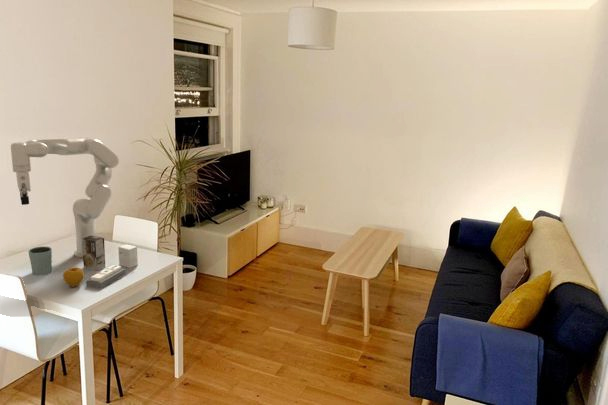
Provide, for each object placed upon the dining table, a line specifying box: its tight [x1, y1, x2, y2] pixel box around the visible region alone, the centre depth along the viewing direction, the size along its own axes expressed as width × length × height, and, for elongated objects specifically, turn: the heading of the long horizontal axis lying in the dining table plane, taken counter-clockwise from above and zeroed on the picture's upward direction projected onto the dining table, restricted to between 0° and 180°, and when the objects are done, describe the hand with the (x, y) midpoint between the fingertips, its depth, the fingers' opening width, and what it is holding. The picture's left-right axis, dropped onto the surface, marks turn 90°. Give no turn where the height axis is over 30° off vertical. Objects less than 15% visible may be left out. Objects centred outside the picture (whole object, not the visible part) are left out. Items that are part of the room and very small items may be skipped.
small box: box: [118, 244, 139, 269], centre depth 244 cm, size 8×6×10 cm
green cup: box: [27, 246, 53, 276], centre depth 229 cm, size 10×10×12 cm
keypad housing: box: [85, 267, 127, 290], centre depth 225 cm, size 19×8×3 cm, turn 166°
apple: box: [62, 267, 85, 288], centre depth 217 cm, size 9×9×9 cm
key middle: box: [98, 268, 114, 277], centre depth 225 cm, size 5×5×3 cm
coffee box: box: [82, 235, 106, 271], centre depth 238 cm, size 9×6×16 cm
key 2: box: [106, 264, 122, 273], centre depth 231 cm, size 5×5×3 cm
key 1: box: [90, 272, 106, 282], centre depth 219 cm, size 5×5×3 cm
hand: (24, 202), depth 227 cm, fingers open, 9 cm apart
